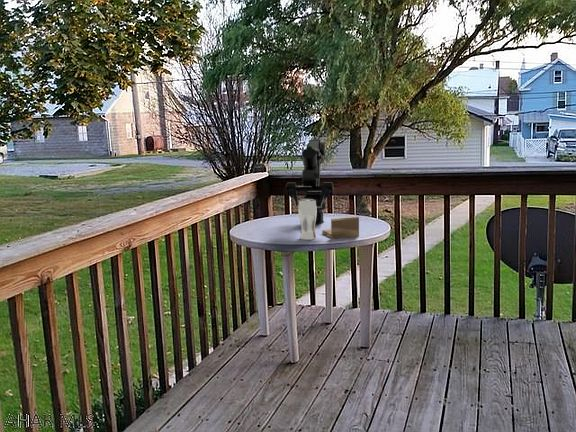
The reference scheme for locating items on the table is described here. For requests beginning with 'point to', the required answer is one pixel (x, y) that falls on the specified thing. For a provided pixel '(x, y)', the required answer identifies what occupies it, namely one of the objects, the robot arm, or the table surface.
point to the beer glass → (307, 218)
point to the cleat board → (343, 228)
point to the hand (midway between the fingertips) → (308, 206)
